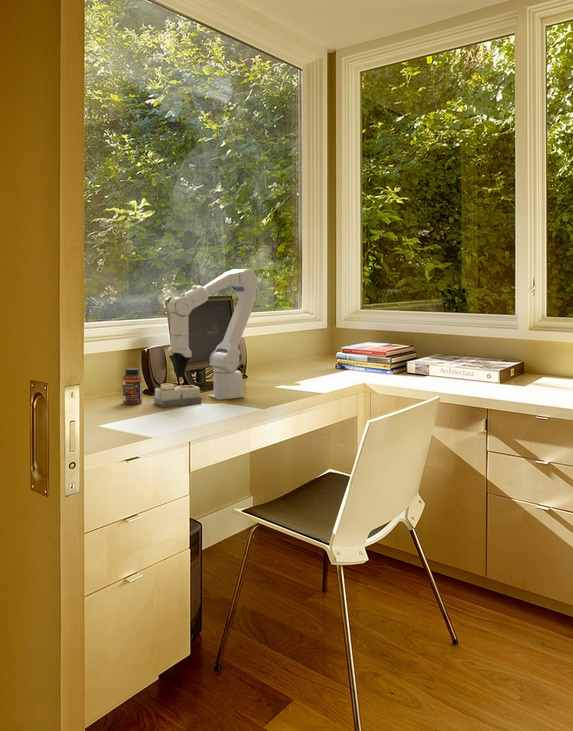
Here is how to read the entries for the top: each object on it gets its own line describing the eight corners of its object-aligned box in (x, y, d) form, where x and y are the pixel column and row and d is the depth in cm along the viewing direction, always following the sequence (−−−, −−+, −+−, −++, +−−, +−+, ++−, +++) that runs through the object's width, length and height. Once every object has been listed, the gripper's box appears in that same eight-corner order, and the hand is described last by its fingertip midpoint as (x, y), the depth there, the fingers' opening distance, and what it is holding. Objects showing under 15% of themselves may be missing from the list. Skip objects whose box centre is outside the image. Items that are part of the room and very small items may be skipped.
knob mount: (191, 399, 208) (191, 384, 207) (201, 403, 201) (201, 388, 201) (154, 403, 201) (153, 387, 200) (163, 407, 194) (162, 392, 194)
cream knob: (170, 389, 201) (170, 382, 201) (175, 391, 198) (175, 384, 198) (159, 390, 199) (158, 383, 199) (163, 392, 196) (163, 385, 196)
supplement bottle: (123, 405, 197) (122, 370, 196) (122, 401, 203) (121, 367, 201) (142, 404, 199) (141, 369, 197) (141, 400, 205) (140, 366, 203)
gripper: (159, 333, 203) (160, 374, 204) (176, 337, 190) (176, 381, 192) (179, 332, 206) (180, 373, 208) (197, 336, 194) (197, 379, 196)
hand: (179, 377), depth 200 cm, fingers closed
